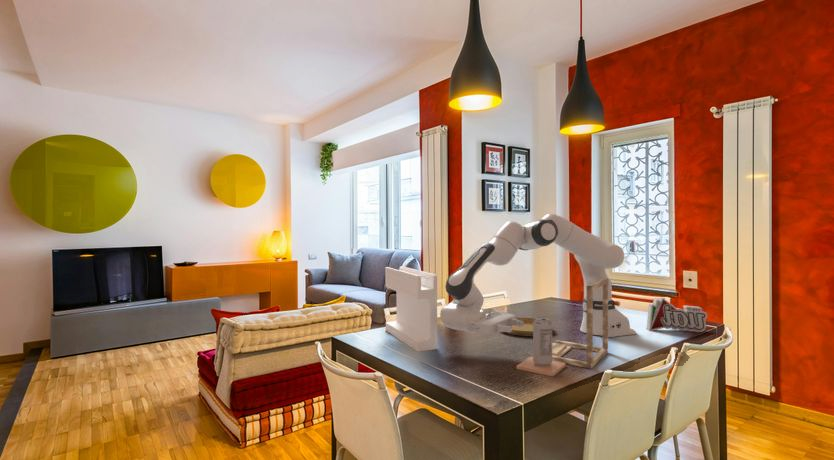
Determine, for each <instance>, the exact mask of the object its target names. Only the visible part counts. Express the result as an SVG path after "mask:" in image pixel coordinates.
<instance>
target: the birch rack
mask: <svg viewBox="0 0 834 460" xmlns="http://www.w3.org/2000/svg"><path fill="white" fill-rule="evenodd" d="M602 285H603V336H602V346H595V345H593V342H594V340H593V337H594V336H593V290H594V289H596V288H598V287H600V286H602ZM555 343H557V344H564V345H566V346H570V347H571V349H572V348H574V349H579V350H585V351H586V359H585V360H586V361H583V360H579V359H572V358H567V357H564V356H561V357H558V356H552V361H557V362H562V363H566V365H571V366H576V367H580V368H587V369H593V368H594V366H596V365H597V364H598V363H599V362H600V361H601V360H602V359H603V358H604V357H605V356H606V355H607V354H608V352H609V337H608V279H607V278H603V279H601V280H599V281H596V282H594V283H591V284H589V285H587V333H586V344H584V343H579V342H578V343H577V342H571V341H566V340H558V339H557V340H555ZM594 352H597V353H595V354H594V355H593V353H594Z"/></svg>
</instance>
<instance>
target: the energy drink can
mask: <svg viewBox="0 0 834 460" xmlns="http://www.w3.org/2000/svg"><path fill="white" fill-rule="evenodd" d="M552 324H553V322H552V320H551V318H550V317H545V316H543V317H542V316H541V317H540V316H539V317H535V321H534V323H533V336H532V337H533V338H532V340H533V341H532V357H533V362H534V363H535V365H537V366H541V367H548V366H550V364H551V363H552V343H553V328H552Z"/></svg>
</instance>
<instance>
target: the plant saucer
mask: <svg viewBox="0 0 834 460" xmlns="http://www.w3.org/2000/svg"><path fill="white" fill-rule="evenodd" d="M535 318H536V317H535ZM535 318H533V317H519V316H518V317H517V316H516V319H517V320H519V321H523V322H524V325H523V326H522V327H518V326H516V325H513V326H511V327H512V331H511V332H504V333H506V334H509V335H514V336H518V337H519V336H520V337H533V323H534V321H535ZM553 328H554V324H553V323H552V329H553Z"/></svg>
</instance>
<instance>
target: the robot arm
mask: <svg viewBox="0 0 834 460" xmlns="http://www.w3.org/2000/svg"><path fill="white" fill-rule="evenodd" d="M553 243H554V244H555V245H558V246H559V247H561V248H562V249H563V250H565V251H567V252H568V253H570V254H573V257H574V258H575V260H576V262H577V264H578V265H579V268H580V271H581V275H582V279H583V298H582V310H583V311H582V312H583V313H582V321H581V324H580V329H579V331H580V332H582V333H584V334H587V285H589V284H591V283H594V282H596V281H599V280H601V279H603V278H607V279H608V338H612V337H613V338H614V337H622V336H629V335H630V336H631V335H637V334H636V333H637V332H636V330H635V329H633V328H631V324H630V320H629V318H628V317H627V316H626V315H625V314H623V313H622V312H621V311H619V310H618V309H617V308H616V306H617V307H620V306H621V301H618V300H613V299H612V296H613V295H612V292H613V289H612V287H613V286H612V285H613V283H612V281H611V279H610V278H609V276H608V275H607V272H606V269H607V270H609V269H615V268H618V267H620V266H622V265H623V262H624V260H625V252H624V250H623V248H622V247H621V246H620V245H618V244H615V243H612V242H610V241H607V240H605V239H604V238H601V237H600V236H597V235H595V234H592V233H591V232H588V231H586V230H584V229H583V228H581V227H579V226H578V225H576V224H575V223H573V222H572V221H570V220H568V219H566V218H564V217H562V216H560V215H558V214H555V213H547V214H544V216H543V217H541V219H538V220H534V221H531V222H528V223H525V224H523V225H521V224H520V223H519V222H517V221H511V220H510V221H506V222H505V223H504V224H503V225H502V226H501V227H500V228H499V229H498V230H497V231H496V232H495V233H494V235H493V237H492V238H491V239H490V241H488V242H485V243H483V244H481V245H480V246H479V247H478V248H476V249H475V251H474V252H473V253H471V255H470V256H469V257H468V258H467V259H466V260H465V262H464V263H463V264H462V265H461V266H460V267H459V268H458V269H457V270H455V271H454V272H453V273H451V274H450V275H449V276H448V277H447V279H446V282H445V291H446V293H447V294H448V295H449V296H450V297H451V299H453V300H452V301H451V302H449V303H447V304H445V305H443V306H442V307H441V309H440V313H439V315H440V320H441V323H442V325H444V327H447V328H449V329H452V330H457V331H460V332H461V331H463V332H465V331H468V332H469V333H472V334H473V333H474V334H480V335H485V336H494V335H495V334H497V333H505V332H511V331H512V327H511V326H513V325H516V326H518V327H522V326H523V325H524V322H523V321H519V320H517V319H516V317H517V316H516V315H515V314H513V313H510V312H509V313H508V312H503V311H499V310H496V309H495V308H482V307H483V305H484V296H483V294H482V293H481V290H480V289H479V288H478V287H477V285H476V284H475V283H474V279H475V276H476V275H477V274H478V272H479V271H481V270H482V268H483V267H484V266H485V264H487V263H490V264H492V265H495V266H505V265H508V264H509V263H510V262H511V261H512V260H513V258H514V257H515V255H516V254H517V252H518V251H519V250H521V251H530V250H538V249H539V248H542V247H547V246H549V245H551V244H553ZM593 335H595V336H601V337H603V285H602V286H600V287H598V288H596V289H594V290H593Z"/></svg>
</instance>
